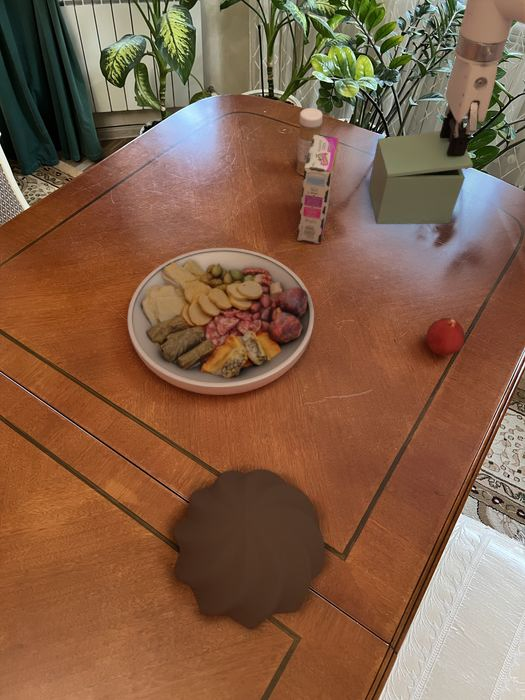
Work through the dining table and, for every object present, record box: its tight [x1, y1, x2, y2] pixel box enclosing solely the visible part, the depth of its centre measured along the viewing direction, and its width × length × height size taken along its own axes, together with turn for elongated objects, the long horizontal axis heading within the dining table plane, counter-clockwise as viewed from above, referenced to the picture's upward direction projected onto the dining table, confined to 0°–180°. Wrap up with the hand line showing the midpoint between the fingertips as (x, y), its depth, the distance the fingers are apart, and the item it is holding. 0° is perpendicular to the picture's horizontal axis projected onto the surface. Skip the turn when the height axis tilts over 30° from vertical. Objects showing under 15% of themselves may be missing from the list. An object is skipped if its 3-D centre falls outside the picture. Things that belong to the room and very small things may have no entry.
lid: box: [377, 118, 474, 177], centre depth 106 cm, size 15×12×5 cm
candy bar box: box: [296, 134, 340, 245], centre depth 107 cm, size 11×5×16 cm, turn 168°
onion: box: [425, 317, 465, 356], centre depth 91 cm, size 6×6×8 cm
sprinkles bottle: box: [296, 107, 324, 177], centre depth 119 cm, size 5×5×13 cm
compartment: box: [367, 142, 466, 225], centre depth 114 cm, size 15×12×11 cm
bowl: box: [127, 247, 315, 396], centre depth 93 cm, size 30×30×8 cm
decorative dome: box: [172, 468, 326, 630], centre depth 70 cm, size 19×20×10 cm
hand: (451, 145), depth 107 cm, fingers closed on lid, 5 cm apart
